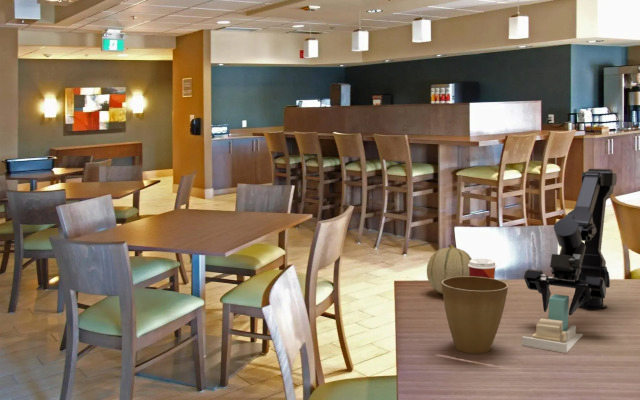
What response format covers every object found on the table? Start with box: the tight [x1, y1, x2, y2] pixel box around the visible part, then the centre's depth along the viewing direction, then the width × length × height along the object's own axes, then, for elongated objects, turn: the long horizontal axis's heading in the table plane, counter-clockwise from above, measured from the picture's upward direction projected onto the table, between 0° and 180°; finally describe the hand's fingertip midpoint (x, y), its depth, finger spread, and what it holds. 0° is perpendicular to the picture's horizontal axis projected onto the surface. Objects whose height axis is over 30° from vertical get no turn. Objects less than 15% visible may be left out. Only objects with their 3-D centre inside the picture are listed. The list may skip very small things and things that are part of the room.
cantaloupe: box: [426, 244, 473, 295], centre depth 211 cm, size 15×15×15 cm
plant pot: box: [442, 276, 509, 355], centre depth 161 cm, size 15×15×16 cm
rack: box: [521, 325, 584, 354], centre depth 167 cm, size 16×10×3 cm, turn 146°
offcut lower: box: [531, 331, 566, 343], centre depth 164 cm, size 7×6×2 cm
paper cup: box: [468, 258, 497, 279], centre depth 194 cm, size 8×8×14 cm
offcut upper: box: [535, 318, 563, 338], centre depth 164 cm, size 6×5×2 cm
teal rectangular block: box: [548, 293, 570, 331], centre depth 170 cm, size 5×3×10 cm
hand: (557, 312), depth 168 cm, fingers open, 6 cm apart
